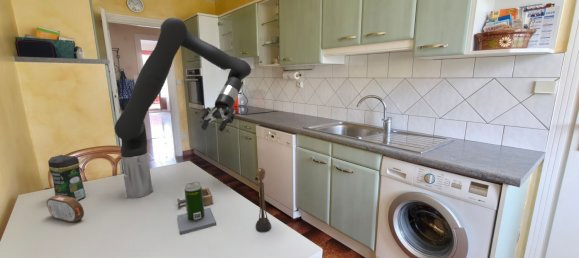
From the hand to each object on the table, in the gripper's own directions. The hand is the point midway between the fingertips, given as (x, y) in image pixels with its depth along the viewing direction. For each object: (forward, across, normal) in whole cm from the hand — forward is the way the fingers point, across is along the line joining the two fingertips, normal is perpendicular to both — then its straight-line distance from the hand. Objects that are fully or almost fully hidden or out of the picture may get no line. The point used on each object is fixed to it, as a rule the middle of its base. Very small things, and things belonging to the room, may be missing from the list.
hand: (211, 129), depth 105 cm
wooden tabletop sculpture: (+31, +31, +7) cm, 45 cm away
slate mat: (+34, +8, +4) cm, 35 cm away
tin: (+45, -36, -7) cm, 58 cm away
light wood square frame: (+27, -1, +11) cm, 29 cm away
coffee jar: (+38, -52, 0) cm, 65 cm away
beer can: (+33, +8, +3) cm, 34 cm away
